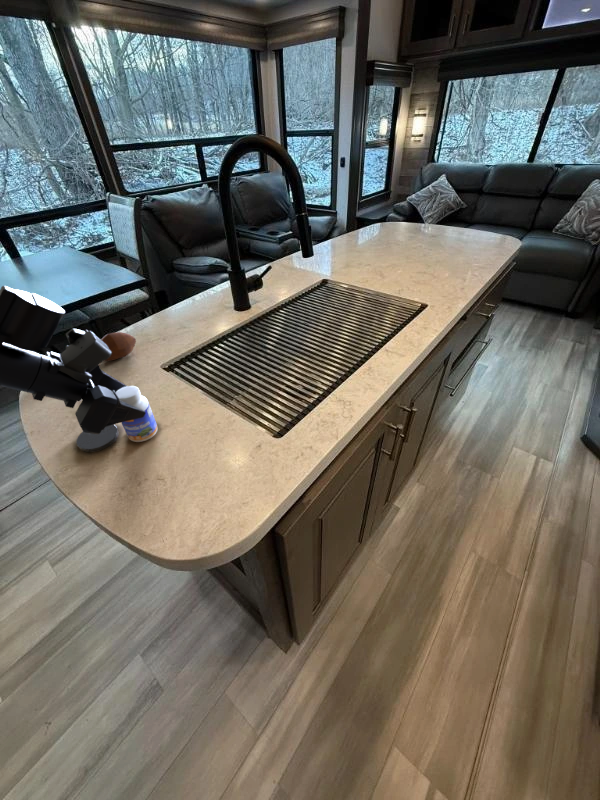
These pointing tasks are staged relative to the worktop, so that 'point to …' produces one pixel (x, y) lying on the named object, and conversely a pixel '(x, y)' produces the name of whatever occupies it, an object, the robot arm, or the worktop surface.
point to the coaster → (97, 439)
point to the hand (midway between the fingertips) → (135, 401)
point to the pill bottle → (142, 426)
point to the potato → (119, 344)
